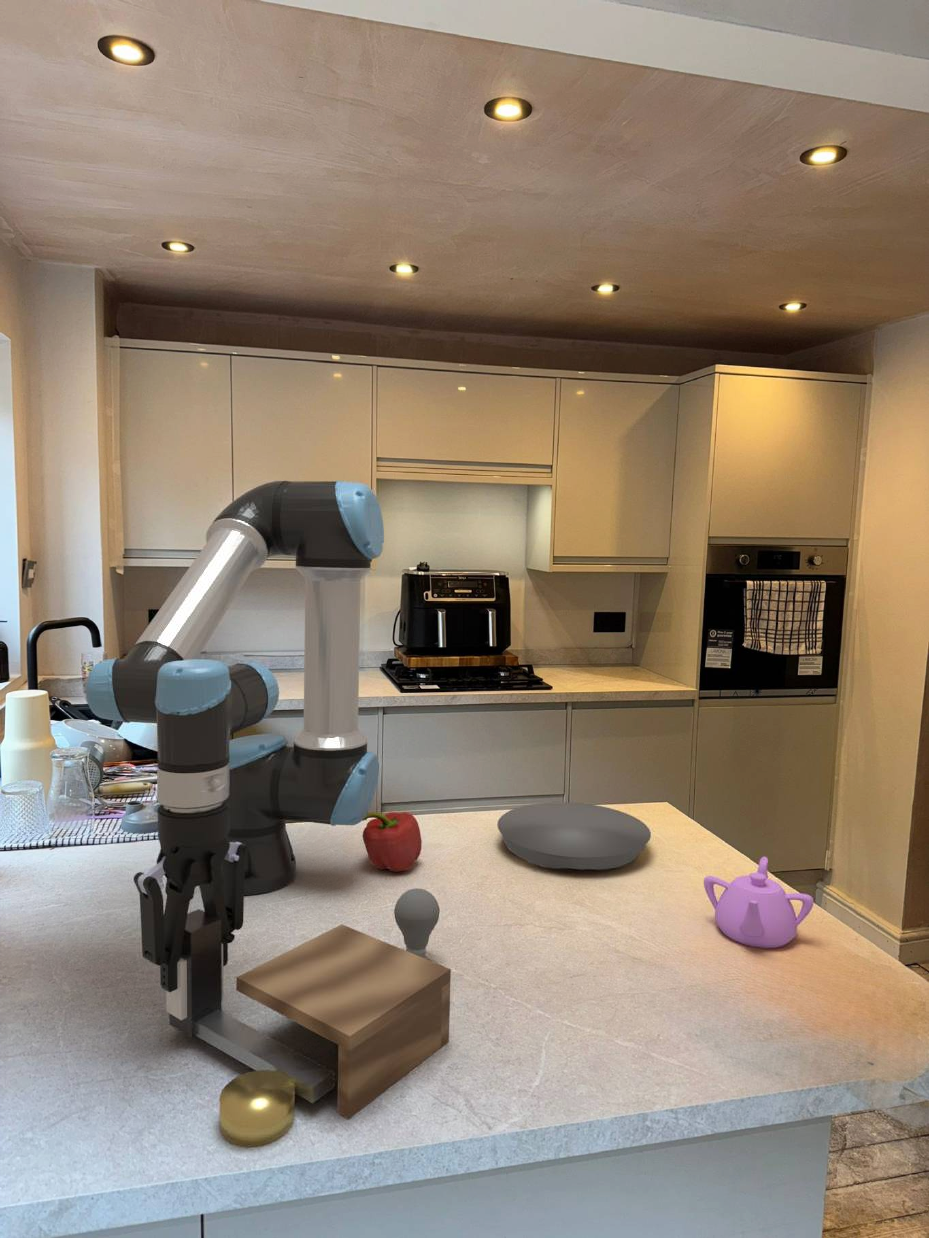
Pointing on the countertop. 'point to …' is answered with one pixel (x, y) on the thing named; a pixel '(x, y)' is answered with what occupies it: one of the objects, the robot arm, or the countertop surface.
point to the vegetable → (392, 840)
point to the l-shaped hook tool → (228, 1031)
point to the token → (257, 1108)
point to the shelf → (359, 1006)
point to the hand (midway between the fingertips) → (195, 1004)
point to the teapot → (757, 909)
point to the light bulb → (416, 919)
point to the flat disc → (573, 835)
